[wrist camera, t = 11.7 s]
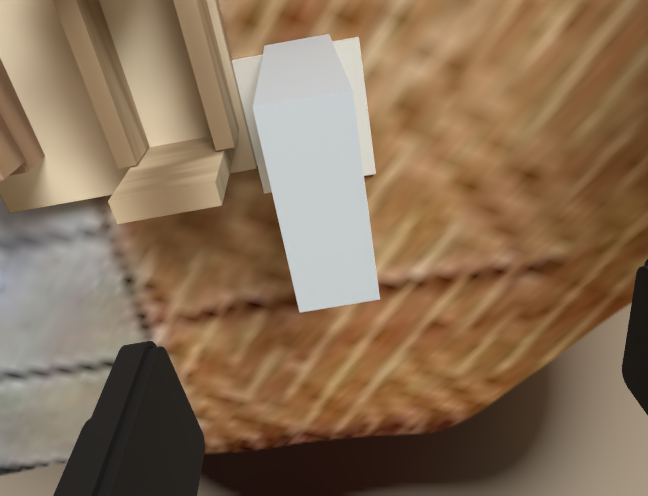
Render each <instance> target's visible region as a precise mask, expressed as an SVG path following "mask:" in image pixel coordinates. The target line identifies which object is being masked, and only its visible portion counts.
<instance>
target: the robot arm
mask: <svg viewBox="0 0 648 496" xmlns="http://www.w3.org/2000/svg"><path fill="white" fill-rule="evenodd" d="M622 374H623V378H624V381H625V383H626V385H627V387H628V388H629V390H630V391H631V393H632V394H633V395H634V397H635V398H636V400H637V401H638V402H639V404H640V405H641V407H642V408H643V409H644V411H645V412H646V414H647V415H648V259H647V261H646V262H645V265H644V266H642V267H639V269H638V270H637V273H636V280H635V286H634V293H633V299H632V306H631V312H630V320H629V325H628V332H627V338H626V345H625V351H624V358H623V364H622ZM204 451H205V442H204V436H203V433H202V430H201V428H200V426H199V424H198V421H197V419H196V417H195V415H194V412H193V410H192V408H191V406H190V403H189V401H188V399H187V397H186V394H185V392H184V390H183V388H182V385H181V383H180V381H179V378H178V376H177V374H176V372H175V369H174V367H173V365H172V363H171V360H170V358H169V356H168V354H167V351H166V350H165V348H164V347H157V346H156V344H155V343H154V342H153V341H147V342H141V343H135V344H129V345H124V346H122V347H121V349H120V350H119V353H118V355H117V357H116V360H115V362H114V365H113V367H112V369H111V372H110V374H109V376H108V379H107V381H106V384H105V386H104V388H103V391H102V393H101V396H100V398H99V400H98V403H97V405H96V407H95V410H94V412H93V415H92V417H91V418H90V419H89V420H88V421H87V422H86V423H85V425H84V426H83V428H82V430H81V432H80V435H79V437H78V439H77V442H76V444H75V446H74V449H73V451H72V453H71V456H70V458H69V460H68V463H67V465H66V468H65V470H64V472H63V475H62V477H61V479H60V482H59V484H58V486H57V488H56V491H55V493H54V496H197V491H198V486H199V480H200V474H201V469H202V463H203V458H204Z"/></svg>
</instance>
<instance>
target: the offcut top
mask: <svg viewBox="0 0 648 496" xmlns="http://www.w3.org/2000/svg"><path fill="white" fill-rule="evenodd" d="M25 161H26V159H25V157H24V156H23V154H22V152H21V150H20V148H19V147H18V145H17V143H16V141H15V139H14V138H13V136H12V134H11V132H10V130H9V129H8V127H7V125H6V123H5V122H4V120H3V118H2V116H1V114H0V181H1V180H4V179H6V178H7V177H8V176H9V175H10V174H11V173H13V172H14V171H15V170H16V169H17V168H18V167H19V166H21V165H22V164H23V163H24V162H25Z"/></svg>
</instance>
